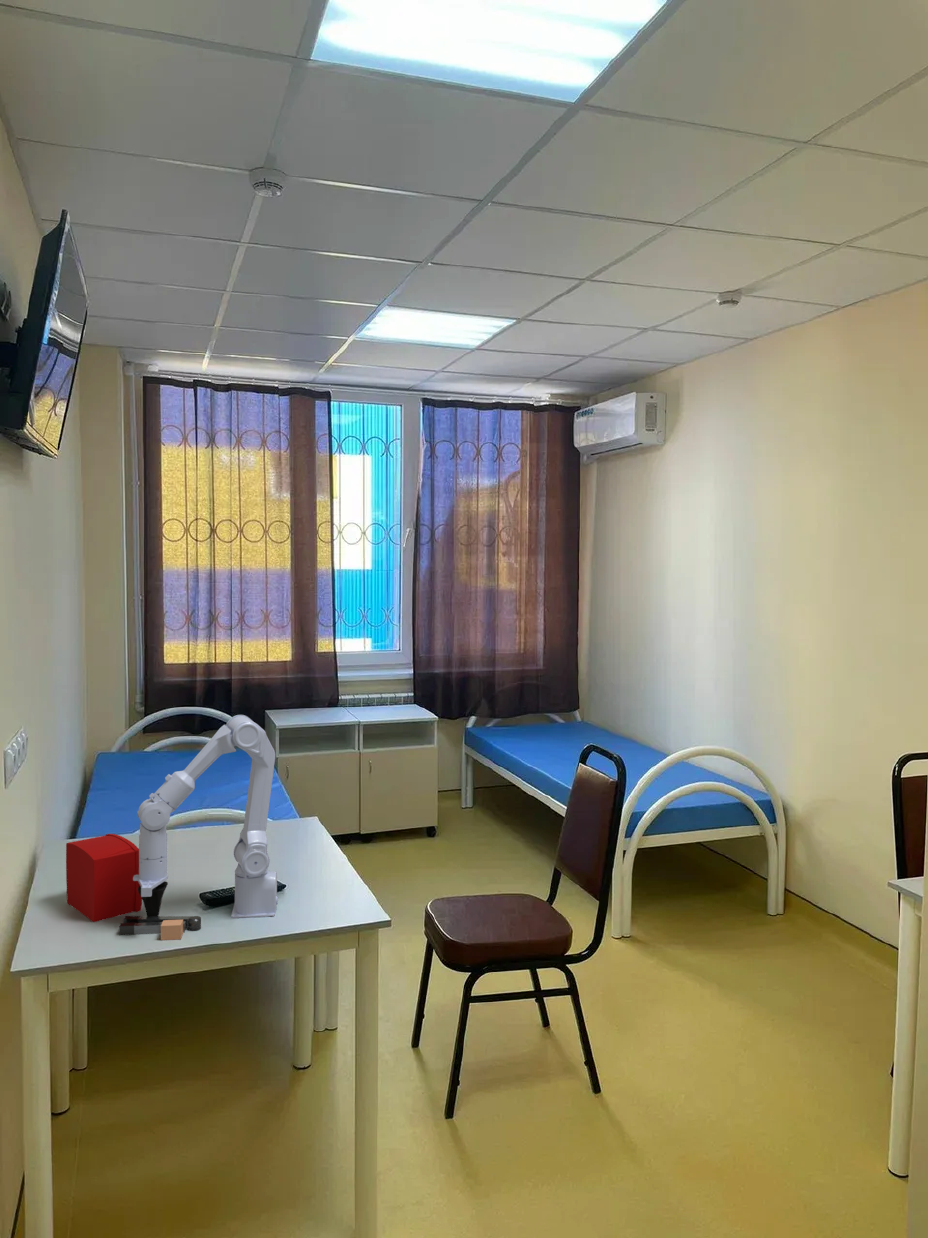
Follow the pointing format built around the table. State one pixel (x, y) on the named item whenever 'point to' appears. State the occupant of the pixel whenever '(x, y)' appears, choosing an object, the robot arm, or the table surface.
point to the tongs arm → (191, 921)
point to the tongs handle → (142, 928)
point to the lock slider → (171, 929)
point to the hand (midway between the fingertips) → (152, 917)
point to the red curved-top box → (103, 877)
